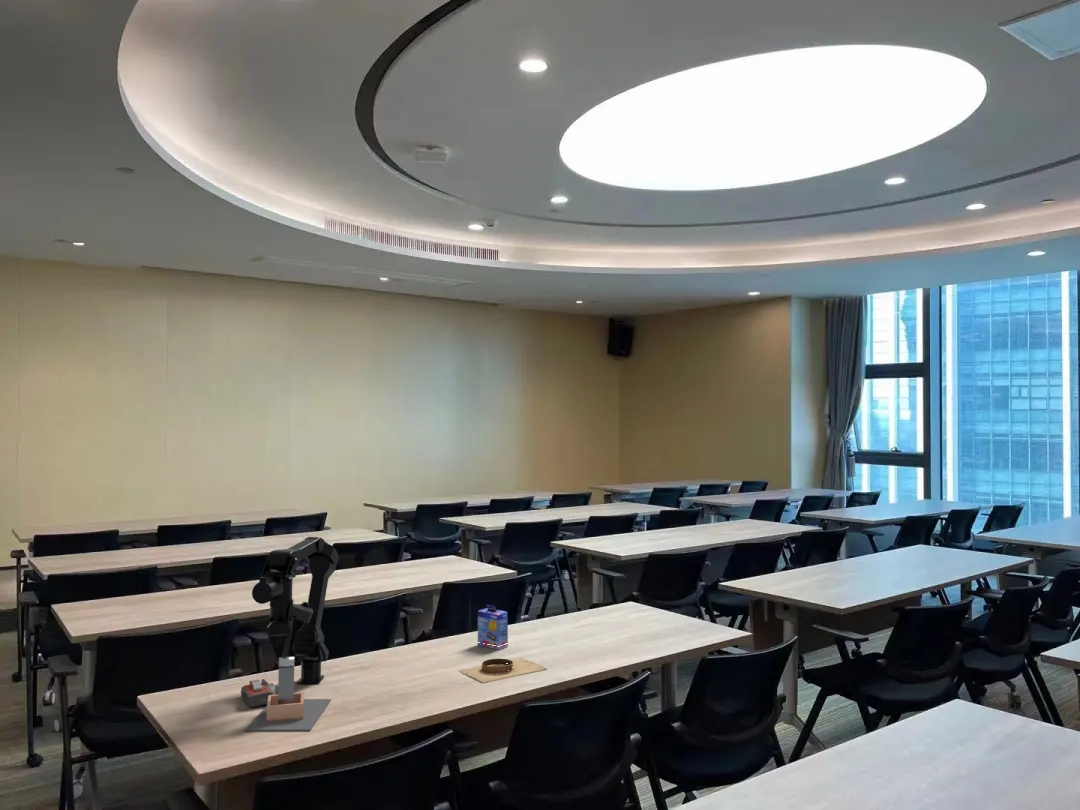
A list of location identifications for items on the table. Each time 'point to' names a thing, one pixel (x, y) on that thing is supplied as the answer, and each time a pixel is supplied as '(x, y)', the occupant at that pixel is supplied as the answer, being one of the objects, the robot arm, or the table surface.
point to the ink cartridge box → (492, 627)
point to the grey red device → (257, 692)
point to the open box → (285, 709)
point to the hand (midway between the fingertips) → (279, 653)
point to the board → (501, 669)
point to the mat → (310, 717)
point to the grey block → (286, 680)
